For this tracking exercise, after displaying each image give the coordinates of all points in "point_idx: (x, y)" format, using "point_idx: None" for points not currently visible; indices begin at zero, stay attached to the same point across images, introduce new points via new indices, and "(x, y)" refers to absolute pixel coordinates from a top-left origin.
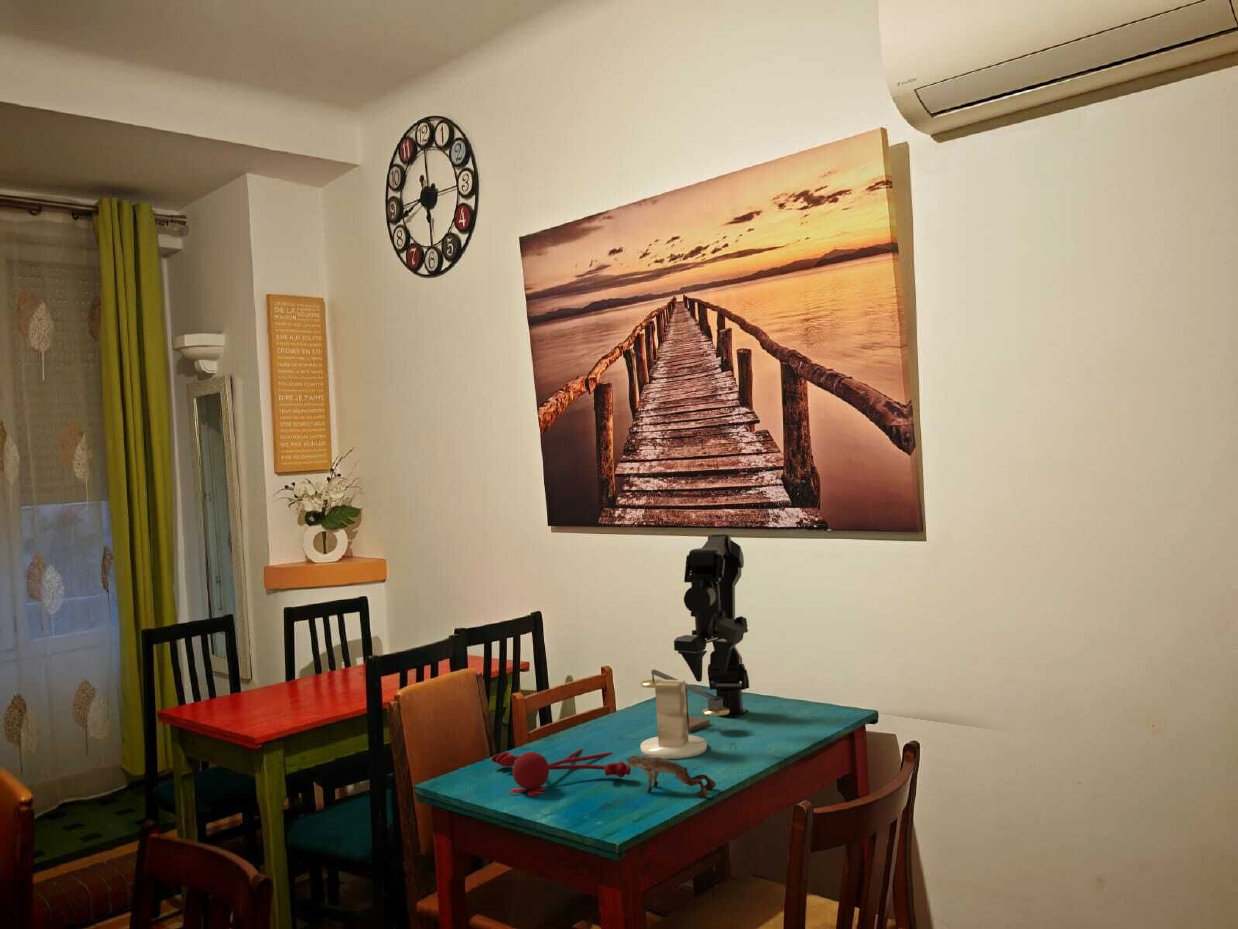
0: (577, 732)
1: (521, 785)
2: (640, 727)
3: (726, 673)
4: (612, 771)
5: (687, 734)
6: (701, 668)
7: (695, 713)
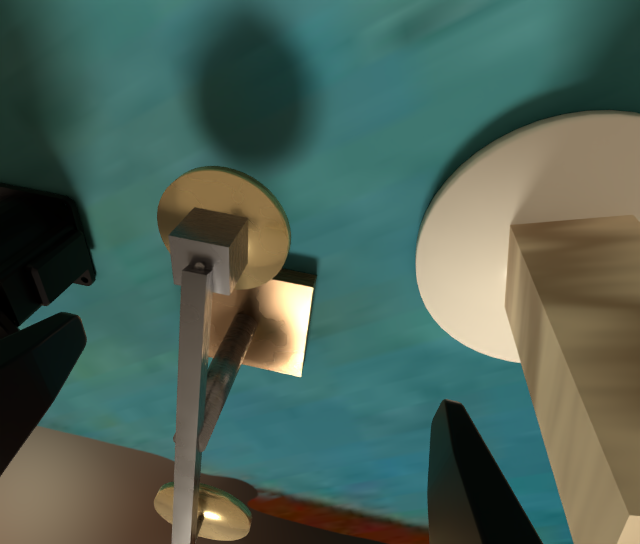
0: (408, 500)
1: None
2: (314, 409)
3: None
4: None
5: (526, 240)
6: (499, 535)
7: (111, 329)
